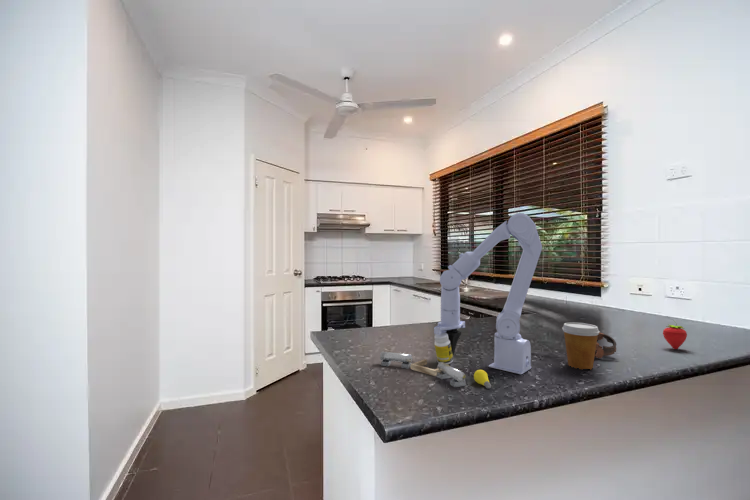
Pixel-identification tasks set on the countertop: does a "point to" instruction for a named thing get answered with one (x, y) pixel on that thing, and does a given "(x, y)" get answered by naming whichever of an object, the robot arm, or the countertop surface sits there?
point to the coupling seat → (424, 368)
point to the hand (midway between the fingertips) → (449, 354)
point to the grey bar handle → (396, 359)
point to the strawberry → (675, 335)
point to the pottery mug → (605, 350)
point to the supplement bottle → (443, 348)
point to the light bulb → (482, 378)
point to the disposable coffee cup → (580, 344)
